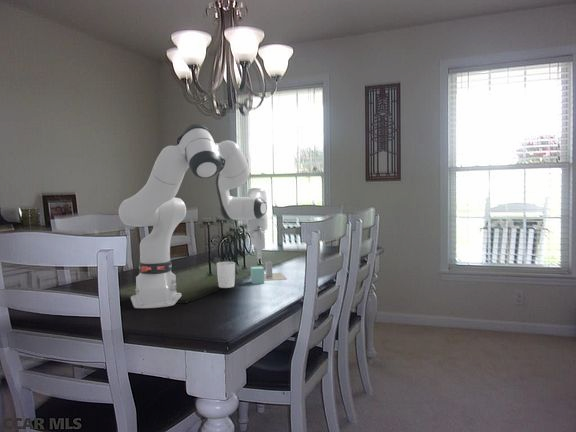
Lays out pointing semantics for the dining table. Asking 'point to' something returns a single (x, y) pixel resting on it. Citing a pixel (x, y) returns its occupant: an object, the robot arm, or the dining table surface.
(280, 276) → the post
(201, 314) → the dining table surface
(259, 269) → the teal upright block
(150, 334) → the dining table surface
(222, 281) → the white cup
